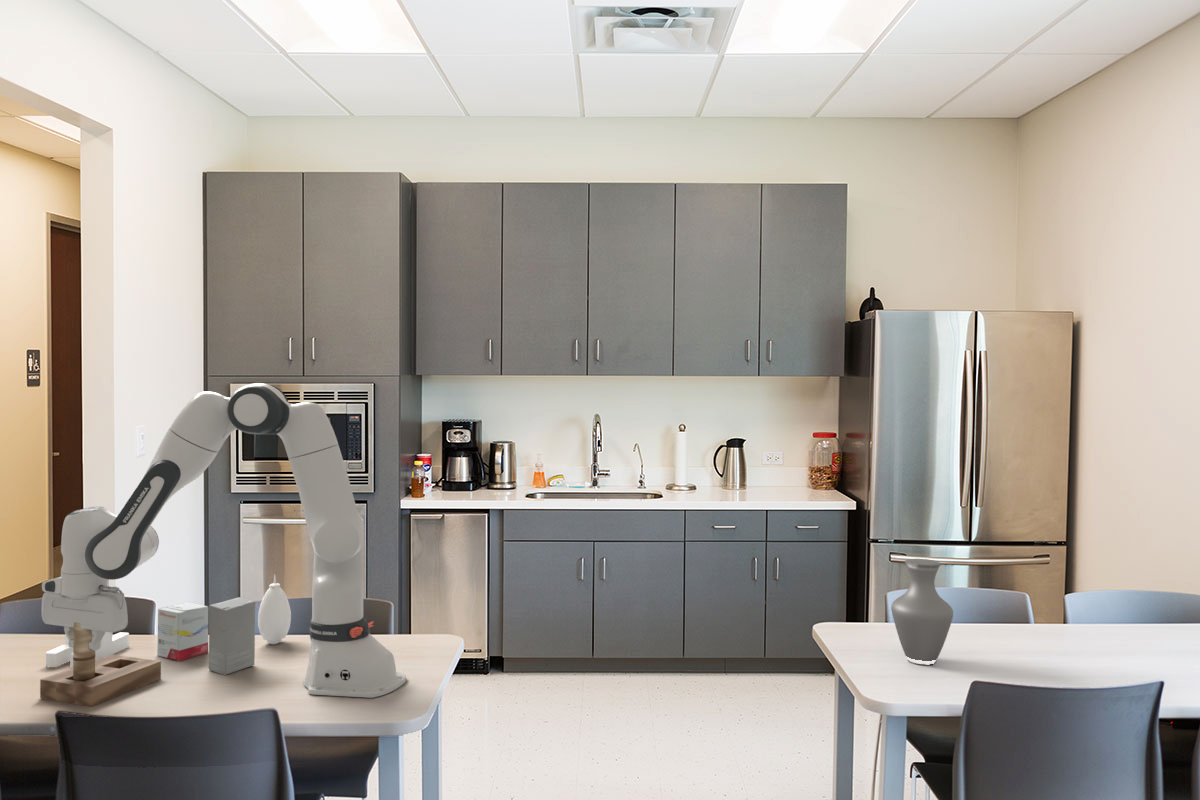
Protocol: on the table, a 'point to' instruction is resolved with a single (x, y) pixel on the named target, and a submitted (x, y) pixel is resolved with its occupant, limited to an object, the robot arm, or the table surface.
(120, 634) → the white slotted holder
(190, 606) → the ink box
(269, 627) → the white bulb air blower
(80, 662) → the dowel
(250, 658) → the skincare box
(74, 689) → the board
